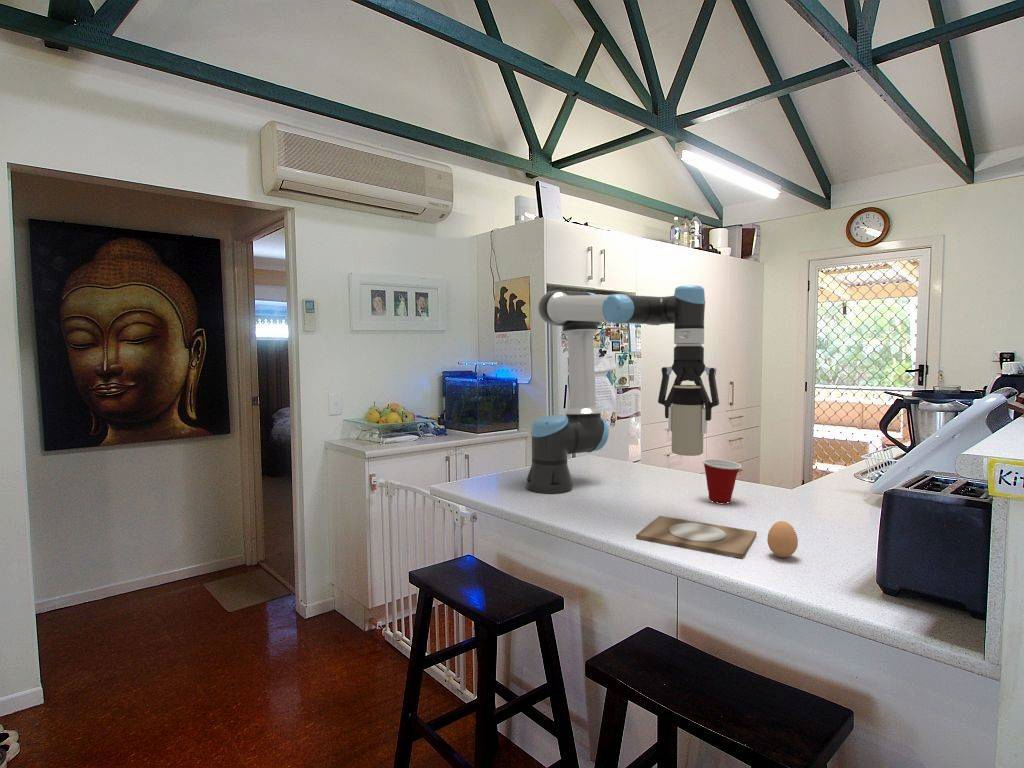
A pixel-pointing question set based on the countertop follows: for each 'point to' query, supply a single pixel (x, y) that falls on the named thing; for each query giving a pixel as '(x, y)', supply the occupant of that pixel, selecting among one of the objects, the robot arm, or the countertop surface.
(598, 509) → the countertop surface
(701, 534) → the walnut board
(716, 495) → the plastic cup
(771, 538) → the egg
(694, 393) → the travel mug
